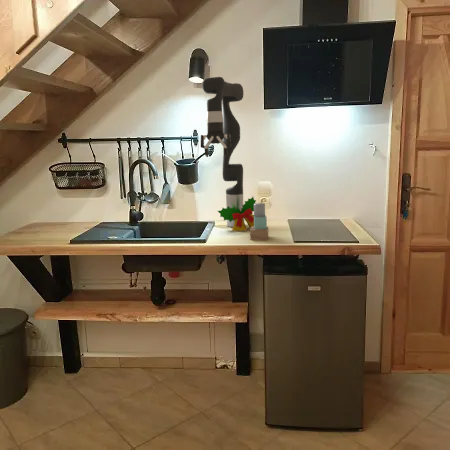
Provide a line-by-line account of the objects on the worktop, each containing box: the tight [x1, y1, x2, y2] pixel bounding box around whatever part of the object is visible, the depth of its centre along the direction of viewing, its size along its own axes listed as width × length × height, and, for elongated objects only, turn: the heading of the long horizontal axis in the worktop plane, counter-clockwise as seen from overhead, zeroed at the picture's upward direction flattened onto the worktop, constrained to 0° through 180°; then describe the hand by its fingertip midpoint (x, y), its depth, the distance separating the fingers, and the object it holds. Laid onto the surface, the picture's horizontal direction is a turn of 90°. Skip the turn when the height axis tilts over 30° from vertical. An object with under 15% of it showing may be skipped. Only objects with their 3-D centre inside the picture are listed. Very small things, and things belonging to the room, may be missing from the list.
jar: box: [253, 202, 266, 217], centre depth 207 cm, size 5×5×6 cm
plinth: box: [249, 226, 269, 241], centre depth 208 cm, size 8×8×5 cm
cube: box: [253, 214, 268, 229], centre depth 208 cm, size 6×6×6 cm
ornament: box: [217, 196, 257, 232], centre depth 228 cm, size 21×8×15 cm, turn 96°
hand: (216, 156), depth 212 cm, fingers open, 8 cm apart
